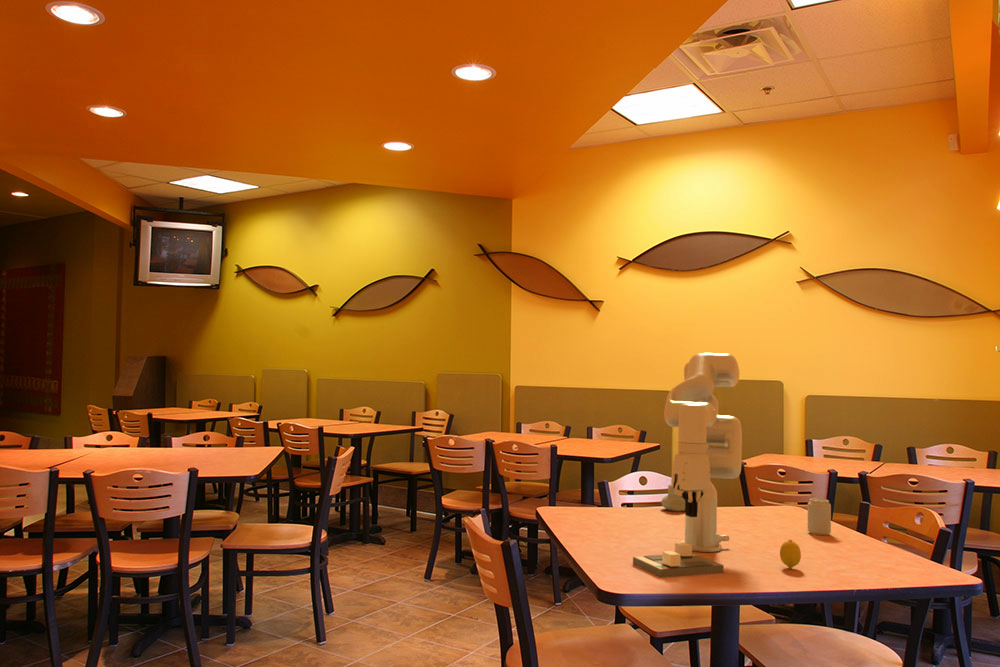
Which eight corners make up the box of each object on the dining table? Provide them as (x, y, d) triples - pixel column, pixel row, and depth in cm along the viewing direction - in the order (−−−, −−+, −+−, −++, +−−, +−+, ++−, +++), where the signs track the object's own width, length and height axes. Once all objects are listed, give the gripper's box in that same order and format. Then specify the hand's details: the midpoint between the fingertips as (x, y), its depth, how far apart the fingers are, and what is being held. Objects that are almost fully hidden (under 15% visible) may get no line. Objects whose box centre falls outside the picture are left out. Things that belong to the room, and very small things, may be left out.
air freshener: (665, 512, 295) (665, 486, 295) (659, 508, 303) (659, 483, 304) (692, 512, 296) (692, 487, 296) (685, 508, 304) (685, 484, 304)
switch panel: (692, 560, 216) (693, 552, 216) (723, 572, 203) (723, 564, 203) (632, 564, 209) (633, 556, 209) (660, 577, 196) (660, 568, 196)
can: (827, 537, 255) (827, 501, 256) (804, 533, 260) (805, 499, 260) (833, 533, 261) (833, 499, 262) (810, 530, 266) (810, 496, 266)
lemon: (783, 565, 213) (783, 536, 214) (803, 568, 210) (803, 539, 210) (776, 568, 209) (777, 539, 210) (797, 572, 206) (797, 542, 206)
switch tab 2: (683, 552, 214) (684, 541, 215) (692, 555, 211) (692, 545, 211) (674, 553, 213) (675, 542, 213) (683, 556, 210) (683, 545, 210)
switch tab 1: (671, 562, 202) (672, 550, 203) (680, 565, 199) (680, 554, 199) (662, 562, 201) (662, 551, 202) (670, 566, 198) (671, 555, 198)
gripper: (706, 446, 210) (705, 511, 210) (661, 447, 205) (660, 514, 204) (723, 450, 203) (722, 517, 203) (676, 451, 198) (675, 520, 197)
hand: (691, 516), depth 203 cm, fingers closed
